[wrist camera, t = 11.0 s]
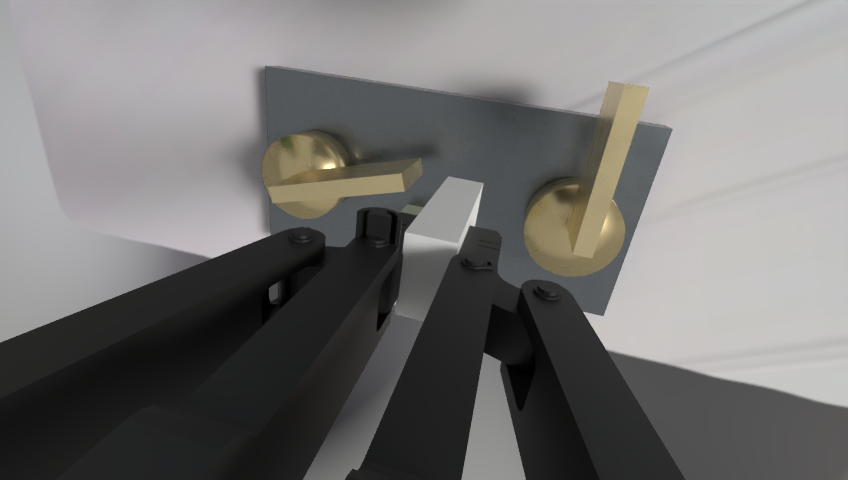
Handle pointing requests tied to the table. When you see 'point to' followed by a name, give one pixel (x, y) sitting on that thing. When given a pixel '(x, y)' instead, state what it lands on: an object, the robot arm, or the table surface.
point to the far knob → (326, 174)
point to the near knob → (587, 196)
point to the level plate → (459, 159)
